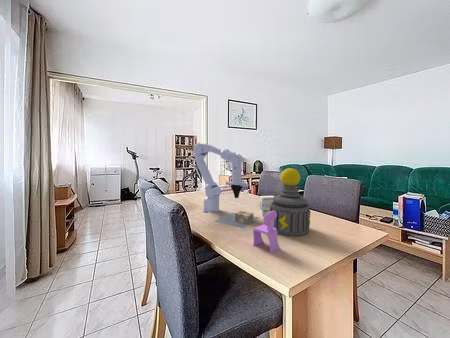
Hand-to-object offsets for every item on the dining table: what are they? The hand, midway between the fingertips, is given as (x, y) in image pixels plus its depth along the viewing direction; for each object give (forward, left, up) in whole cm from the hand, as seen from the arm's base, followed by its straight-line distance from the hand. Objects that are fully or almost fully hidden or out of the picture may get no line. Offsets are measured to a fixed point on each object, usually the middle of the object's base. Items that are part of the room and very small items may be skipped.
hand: (236, 197), depth 127 cm
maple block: (+7, -10, -7) cm, 14 cm away
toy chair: (+31, -31, -11) cm, 45 cm away
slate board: (+6, -10, -10) cm, 15 cm away
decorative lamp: (+33, -7, -11) cm, 35 cm away
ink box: (+16, +8, -11) cm, 21 cm away
